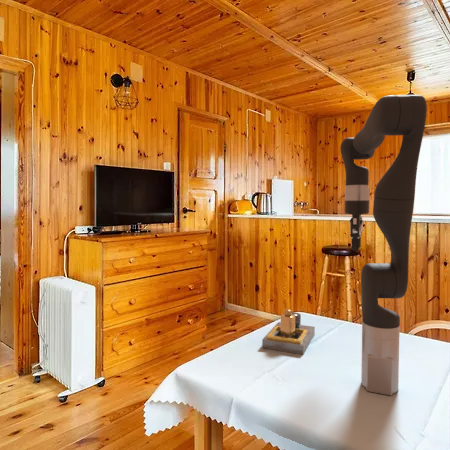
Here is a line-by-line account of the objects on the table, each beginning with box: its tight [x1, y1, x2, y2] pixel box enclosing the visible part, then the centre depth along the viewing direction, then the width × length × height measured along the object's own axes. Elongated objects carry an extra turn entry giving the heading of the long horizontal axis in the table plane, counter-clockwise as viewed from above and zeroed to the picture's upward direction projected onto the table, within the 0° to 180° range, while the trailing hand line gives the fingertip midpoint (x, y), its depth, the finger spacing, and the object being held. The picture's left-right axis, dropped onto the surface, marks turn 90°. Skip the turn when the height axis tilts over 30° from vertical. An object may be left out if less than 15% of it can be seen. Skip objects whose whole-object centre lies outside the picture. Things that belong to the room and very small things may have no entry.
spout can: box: [280, 308, 295, 339], centre depth 128 cm, size 5×5×12 cm
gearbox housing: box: [261, 311, 316, 355], centre depth 131 cm, size 20×14×8 cm
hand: (356, 249), depth 120 cm, fingers open, 8 cm apart
